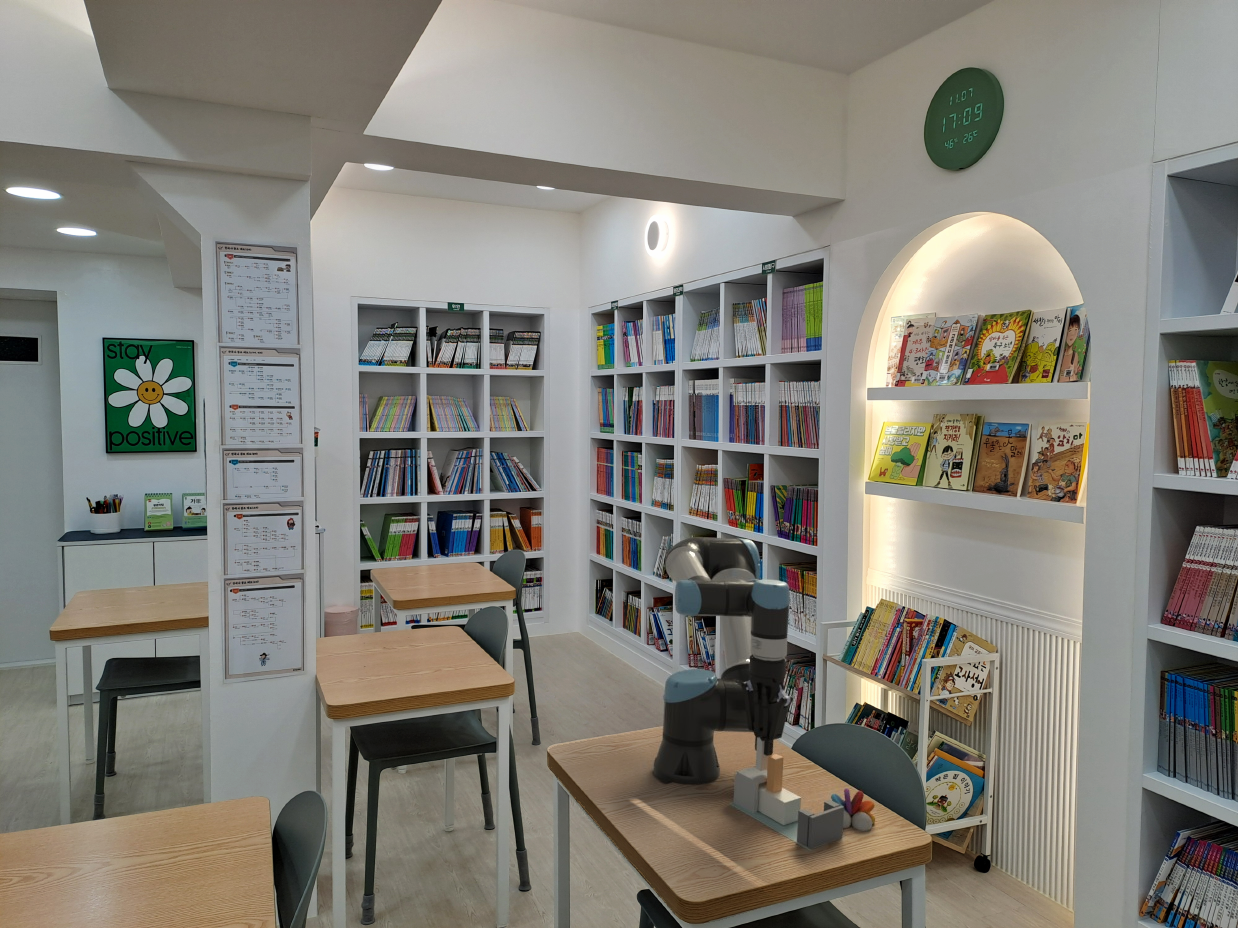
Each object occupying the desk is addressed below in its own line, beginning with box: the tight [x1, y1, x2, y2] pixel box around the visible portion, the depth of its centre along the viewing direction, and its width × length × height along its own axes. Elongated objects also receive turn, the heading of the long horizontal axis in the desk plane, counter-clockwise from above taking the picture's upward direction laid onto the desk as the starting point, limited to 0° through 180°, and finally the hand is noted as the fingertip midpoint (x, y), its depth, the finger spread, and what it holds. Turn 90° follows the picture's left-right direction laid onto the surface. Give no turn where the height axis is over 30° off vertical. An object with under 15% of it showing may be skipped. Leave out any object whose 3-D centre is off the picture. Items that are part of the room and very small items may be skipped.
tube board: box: [728, 765, 845, 851], centre depth 167 cm, size 22×10×8 cm, turn 35°
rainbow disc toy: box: [830, 788, 876, 832], centre depth 168 cm, size 8×10×7 cm
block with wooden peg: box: [757, 753, 802, 825], centre depth 170 cm, size 12×5×12 cm, turn 35°
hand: (762, 768), depth 172 cm, fingers closed
